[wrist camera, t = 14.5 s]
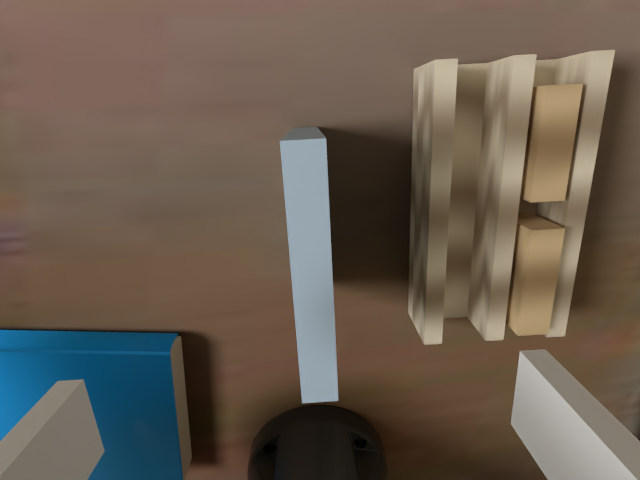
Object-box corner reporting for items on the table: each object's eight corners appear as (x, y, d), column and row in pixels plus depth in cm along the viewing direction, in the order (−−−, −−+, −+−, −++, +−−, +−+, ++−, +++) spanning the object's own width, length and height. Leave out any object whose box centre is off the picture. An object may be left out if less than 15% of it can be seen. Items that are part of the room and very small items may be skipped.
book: (184, 489, 39) (-67, 493, 38) (196, 453, 43) (-32, 456, 42) (167, 347, 34) (-127, 348, 33) (182, 322, 38) (-79, 321, 37)
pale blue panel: (325, 279, 36) (338, 400, 21) (304, 281, 36) (302, 403, 21) (317, 126, 32) (326, 138, 16) (293, 128, 31) (279, 140, 16)
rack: (529, 305, 37) (564, 336, 32) (408, 312, 37) (424, 344, 32) (562, 60, 30) (615, 49, 25) (413, 69, 30) (435, 59, 25)
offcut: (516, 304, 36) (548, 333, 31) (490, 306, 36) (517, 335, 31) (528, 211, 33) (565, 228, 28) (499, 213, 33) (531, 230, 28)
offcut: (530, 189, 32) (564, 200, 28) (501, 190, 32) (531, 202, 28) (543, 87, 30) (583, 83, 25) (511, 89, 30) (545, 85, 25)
